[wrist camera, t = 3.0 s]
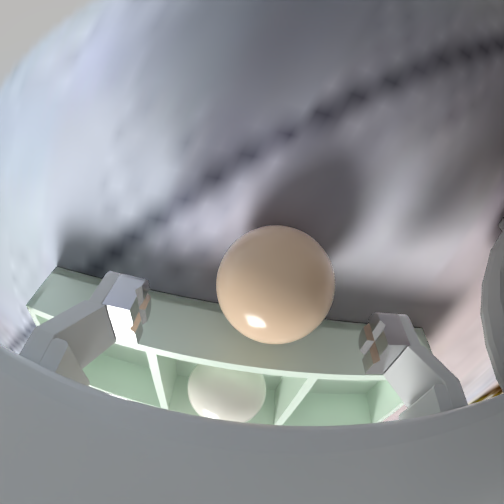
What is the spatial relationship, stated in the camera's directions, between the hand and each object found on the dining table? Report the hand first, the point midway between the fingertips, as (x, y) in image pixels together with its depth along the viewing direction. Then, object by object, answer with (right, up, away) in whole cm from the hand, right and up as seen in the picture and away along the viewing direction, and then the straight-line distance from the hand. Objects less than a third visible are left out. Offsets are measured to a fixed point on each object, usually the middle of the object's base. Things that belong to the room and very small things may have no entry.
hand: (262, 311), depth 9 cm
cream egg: (-2, -4, +6) cm, 8 cm away
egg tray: (-2, -7, +9) cm, 12 cm away
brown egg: (+1, +2, +3) cm, 3 cm away
